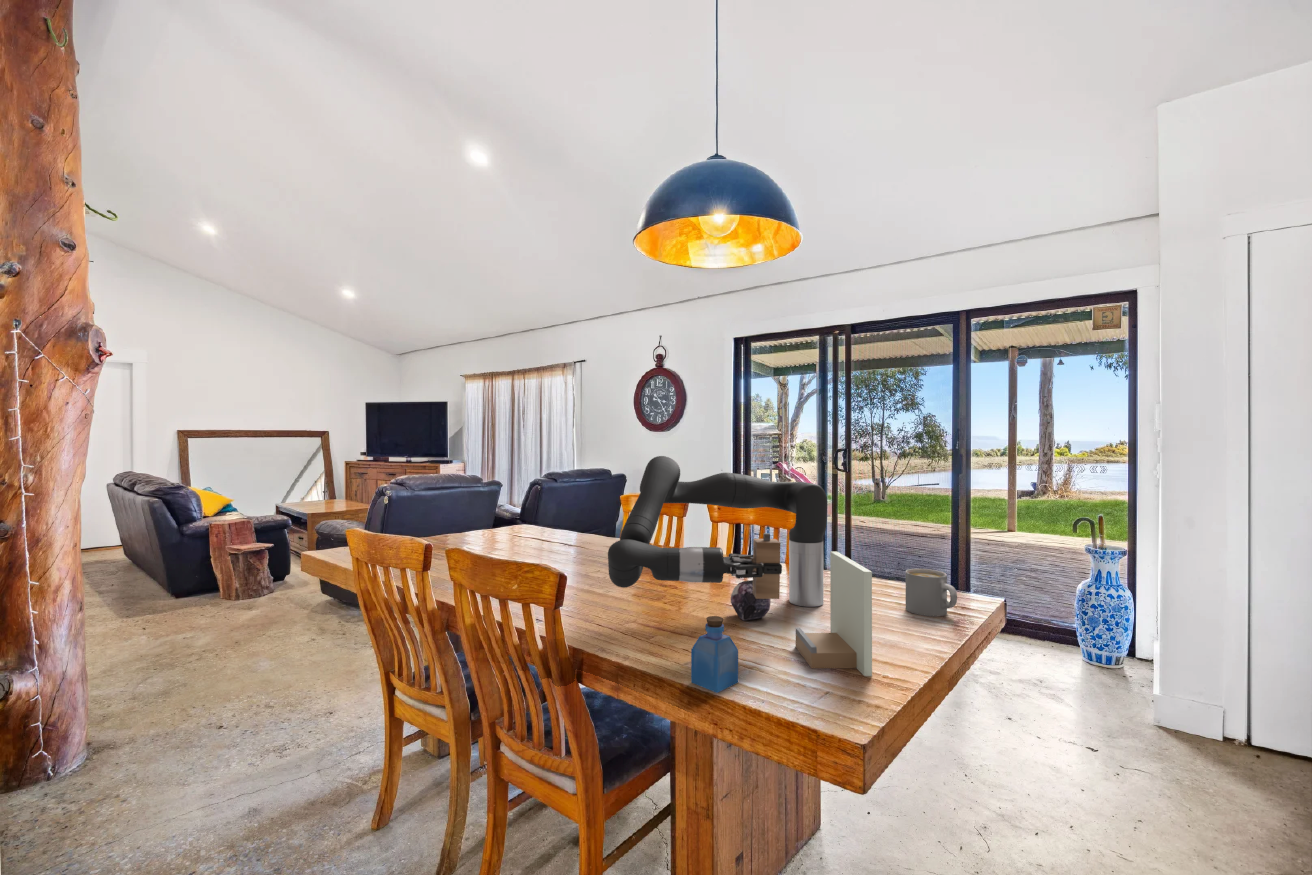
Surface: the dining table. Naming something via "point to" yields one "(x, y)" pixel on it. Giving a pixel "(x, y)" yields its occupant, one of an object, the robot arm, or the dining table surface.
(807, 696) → the dining table surface
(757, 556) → the knob board
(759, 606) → the mineral specimen
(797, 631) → the cleat board
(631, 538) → the robot arm
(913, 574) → the coffee mug
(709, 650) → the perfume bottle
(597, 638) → the dining table surface
